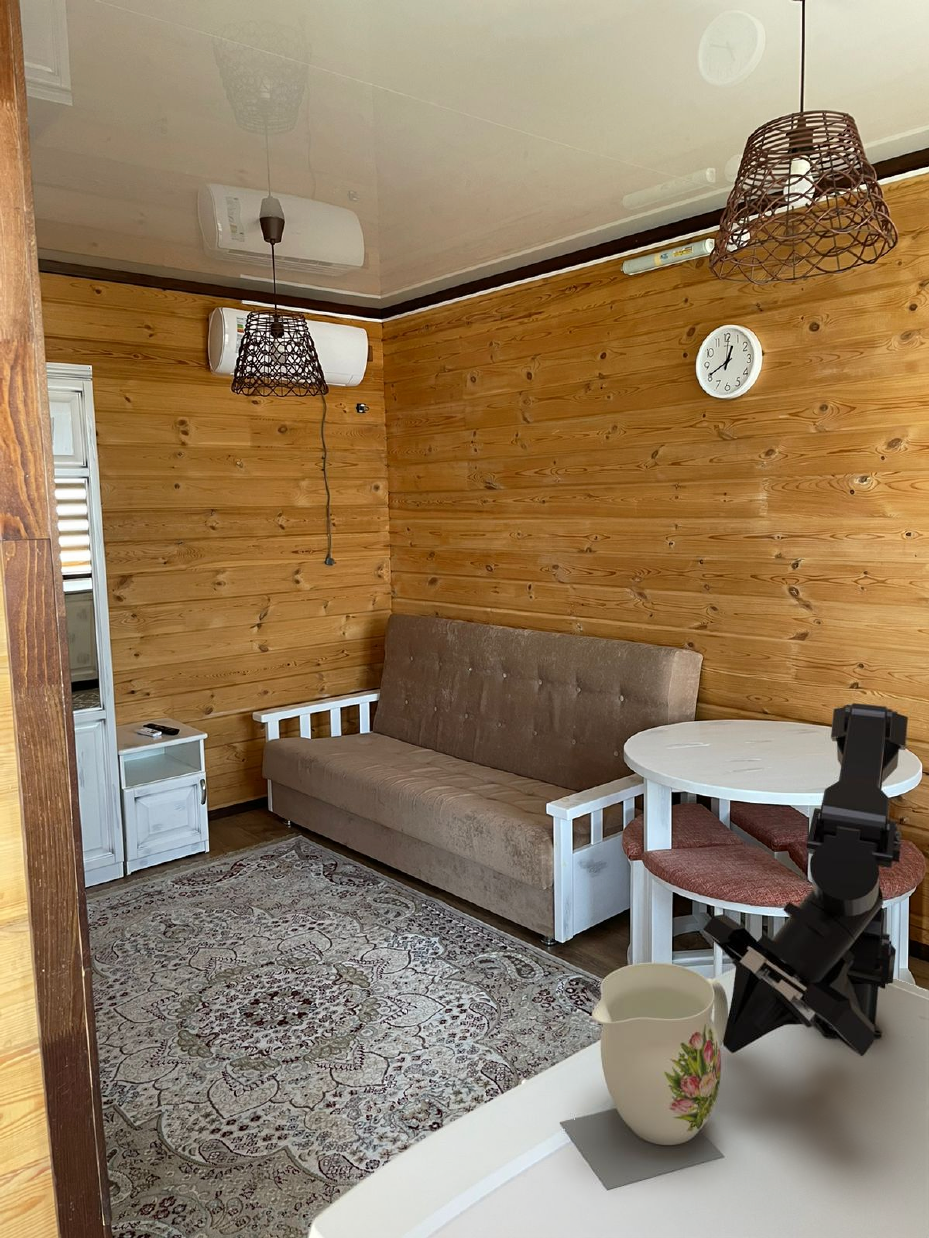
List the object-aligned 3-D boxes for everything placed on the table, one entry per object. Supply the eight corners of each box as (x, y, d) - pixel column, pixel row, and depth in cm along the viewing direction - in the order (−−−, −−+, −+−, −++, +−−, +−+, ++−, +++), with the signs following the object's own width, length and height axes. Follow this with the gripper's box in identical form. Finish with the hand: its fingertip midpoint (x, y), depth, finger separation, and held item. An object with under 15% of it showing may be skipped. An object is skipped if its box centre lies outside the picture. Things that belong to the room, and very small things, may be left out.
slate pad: (667, 1104, 91) (668, 1094, 91) (723, 1166, 83) (724, 1155, 83) (559, 1131, 87) (559, 1121, 87) (606, 1199, 78) (607, 1189, 78)
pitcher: (775, 1098, 88) (770, 964, 87) (654, 1197, 77) (645, 1046, 76) (683, 1050, 97) (677, 927, 95) (562, 1133, 86) (552, 996, 84)
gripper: (947, 1015, 83) (843, 1155, 81) (803, 926, 101) (714, 1039, 98) (887, 946, 80) (776, 1091, 77) (748, 866, 97) (654, 982, 94)
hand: (727, 1048), depth 87 cm, fingers closed
